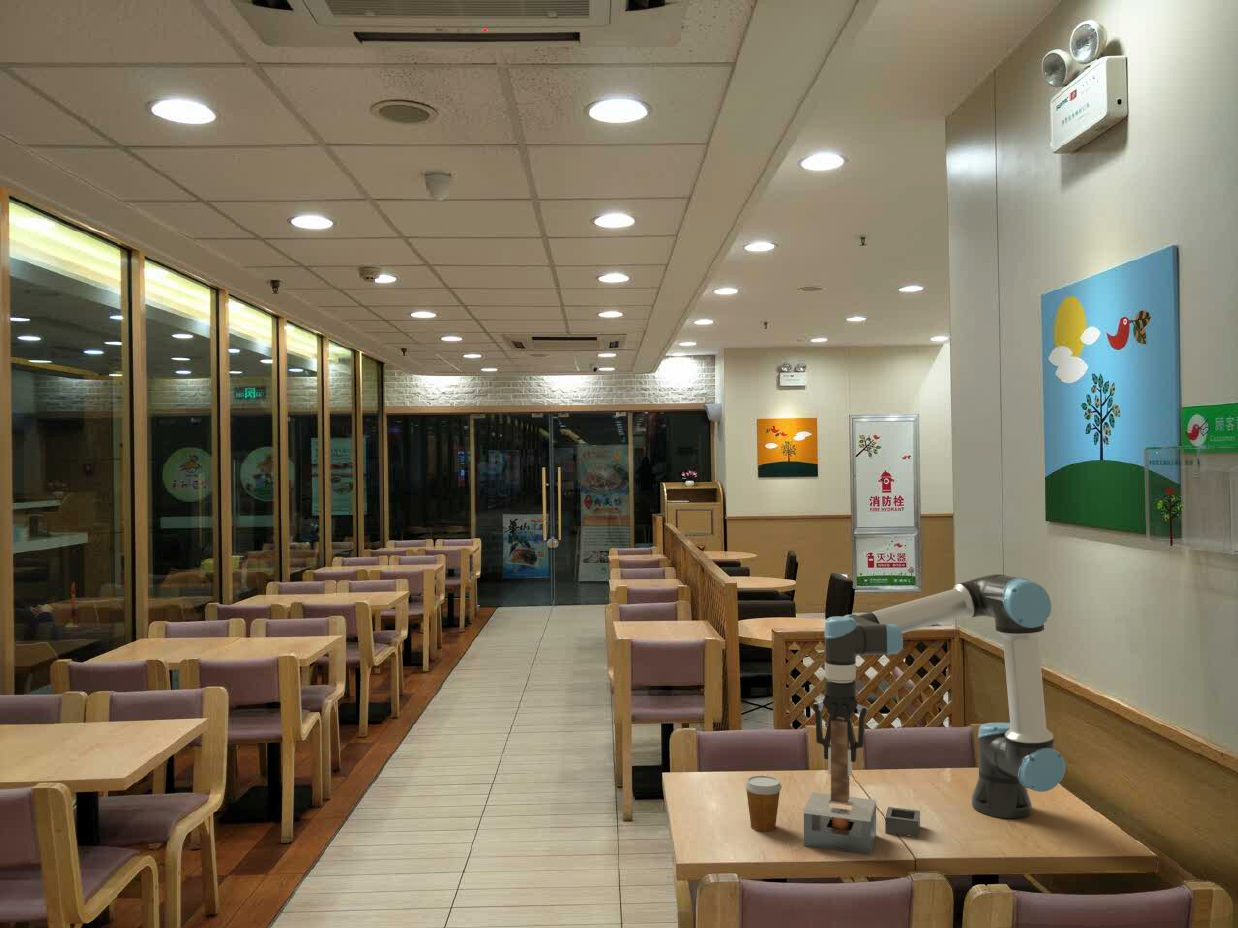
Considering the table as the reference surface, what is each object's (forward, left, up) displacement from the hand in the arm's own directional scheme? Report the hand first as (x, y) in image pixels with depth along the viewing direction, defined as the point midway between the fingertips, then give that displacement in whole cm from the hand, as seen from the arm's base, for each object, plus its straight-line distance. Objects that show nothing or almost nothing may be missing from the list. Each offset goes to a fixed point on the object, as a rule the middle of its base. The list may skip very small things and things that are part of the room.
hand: (840, 772), depth 237 cm
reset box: (0, 0, -17) cm, 17 cm away
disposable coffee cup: (+20, -2, -17) cm, 26 cm away
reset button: (0, 0, -14) cm, 14 cm away
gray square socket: (-14, -13, -17) cm, 26 cm away
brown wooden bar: (0, 0, -7) cm, 7 cm away
